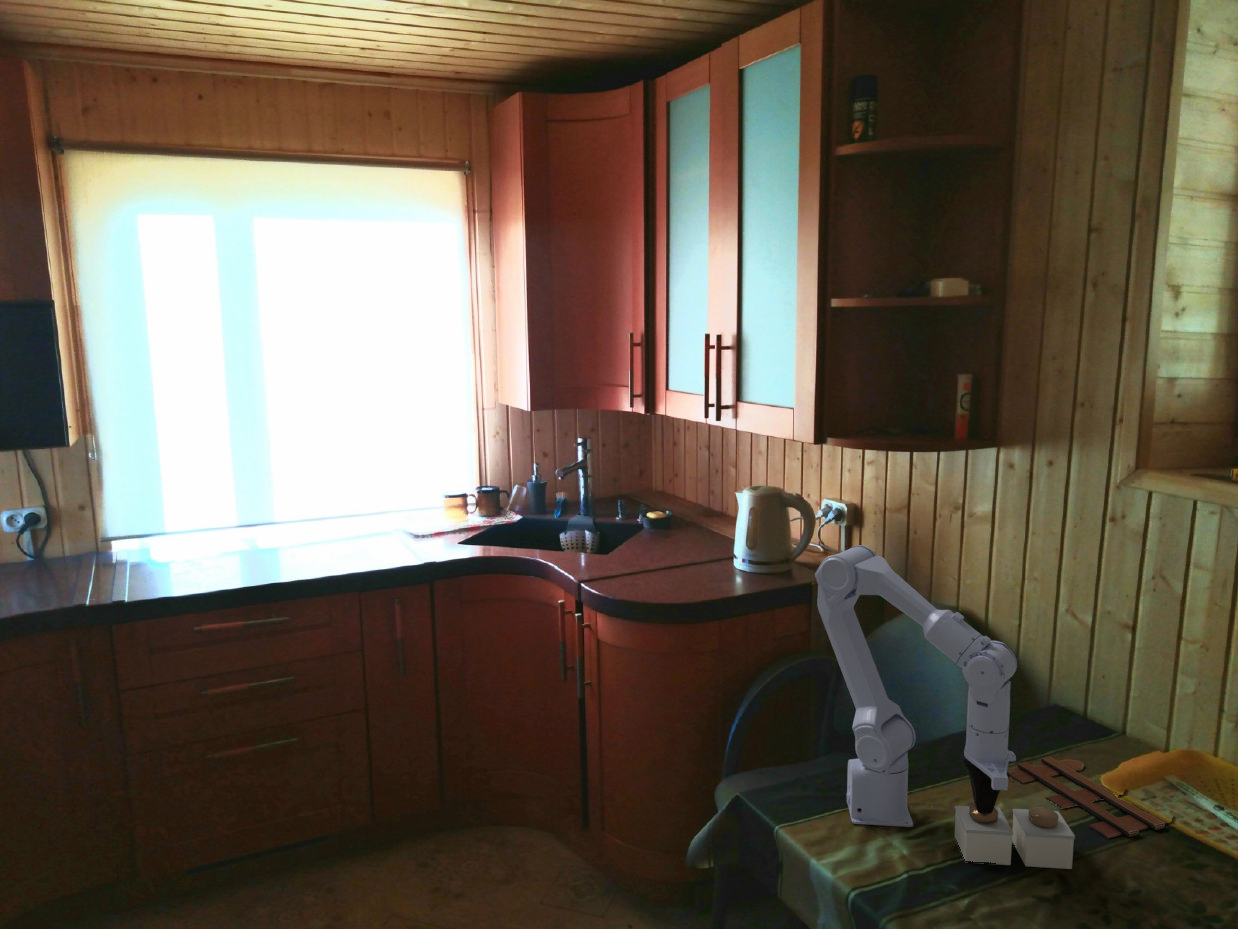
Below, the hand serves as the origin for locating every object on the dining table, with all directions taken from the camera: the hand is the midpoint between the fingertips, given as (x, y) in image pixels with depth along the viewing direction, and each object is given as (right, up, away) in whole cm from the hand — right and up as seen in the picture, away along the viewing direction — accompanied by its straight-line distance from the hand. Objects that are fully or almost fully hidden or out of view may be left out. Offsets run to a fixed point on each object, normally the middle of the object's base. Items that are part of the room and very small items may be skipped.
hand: (983, 810), depth 128 cm
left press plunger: (0, -6, +1) cm, 6 cm away
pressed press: (+9, -7, 0) cm, 11 cm away
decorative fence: (+24, -5, +16) cm, 29 cm away
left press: (0, -7, +1) cm, 7 cm away
